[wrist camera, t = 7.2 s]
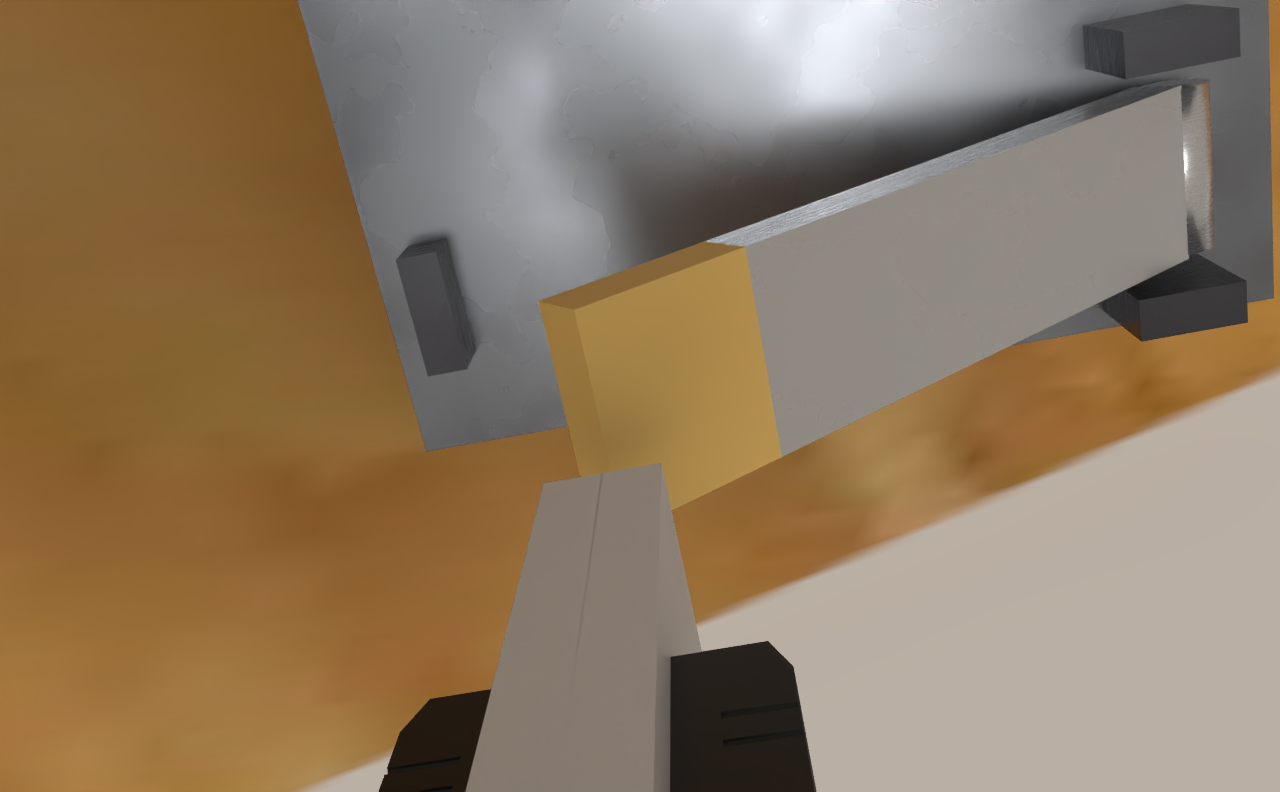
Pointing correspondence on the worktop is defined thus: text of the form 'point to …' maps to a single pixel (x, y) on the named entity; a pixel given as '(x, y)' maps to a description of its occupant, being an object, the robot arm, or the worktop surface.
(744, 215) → the clamp block
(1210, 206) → the strap
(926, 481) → the worktop surface
